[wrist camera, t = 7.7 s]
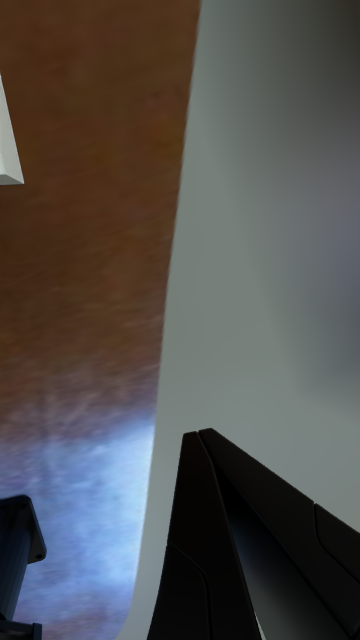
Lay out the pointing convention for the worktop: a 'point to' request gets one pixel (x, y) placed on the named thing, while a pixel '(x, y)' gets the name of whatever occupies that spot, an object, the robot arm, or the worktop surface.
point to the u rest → (8, 147)
